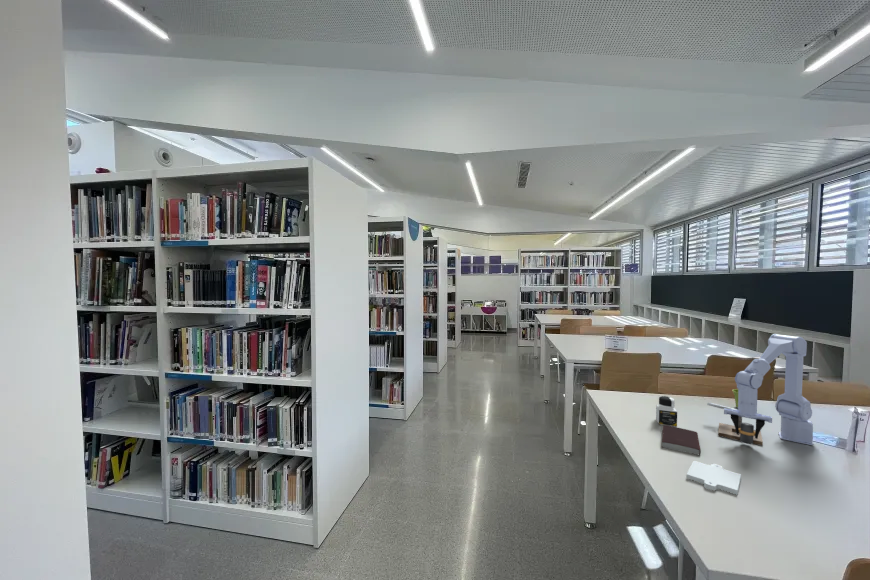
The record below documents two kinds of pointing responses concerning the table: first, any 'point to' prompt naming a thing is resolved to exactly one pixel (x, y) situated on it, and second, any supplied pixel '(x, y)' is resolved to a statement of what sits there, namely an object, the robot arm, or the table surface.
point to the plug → (746, 433)
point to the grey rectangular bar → (719, 406)
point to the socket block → (730, 431)
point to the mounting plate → (714, 477)
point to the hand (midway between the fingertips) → (746, 435)
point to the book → (680, 439)
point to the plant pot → (736, 396)
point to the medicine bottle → (666, 411)
